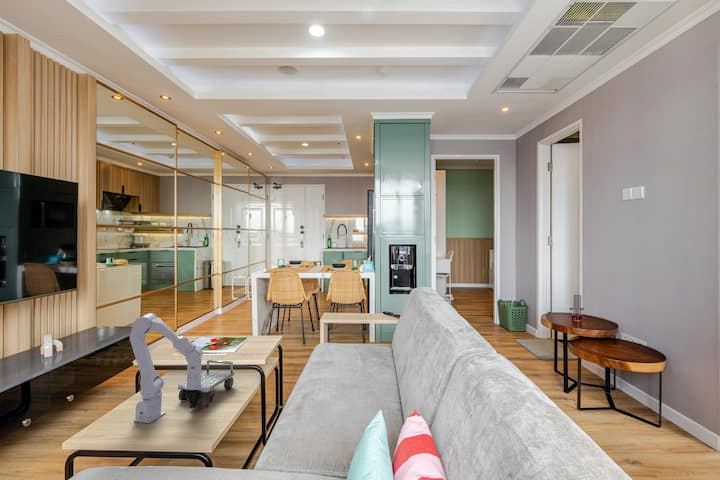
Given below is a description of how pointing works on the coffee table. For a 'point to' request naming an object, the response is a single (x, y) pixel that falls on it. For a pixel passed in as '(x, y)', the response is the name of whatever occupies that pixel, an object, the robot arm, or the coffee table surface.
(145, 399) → the robot arm
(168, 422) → the coffee table surface
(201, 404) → the box
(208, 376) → the trolley
